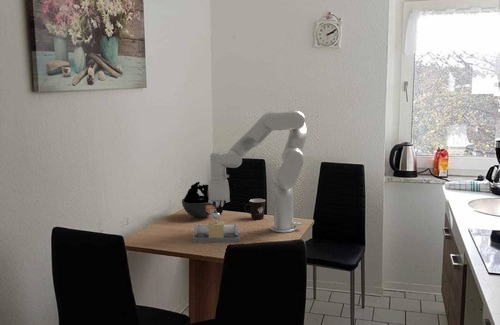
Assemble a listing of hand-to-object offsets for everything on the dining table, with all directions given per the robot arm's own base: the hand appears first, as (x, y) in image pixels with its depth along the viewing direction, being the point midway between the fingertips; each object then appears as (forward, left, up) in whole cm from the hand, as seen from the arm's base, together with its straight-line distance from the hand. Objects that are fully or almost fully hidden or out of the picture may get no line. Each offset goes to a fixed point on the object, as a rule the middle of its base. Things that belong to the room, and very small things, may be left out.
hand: (219, 214), depth 264 cm
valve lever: (+3, +4, +1) cm, 5 cm away
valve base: (0, +11, -9) cm, 15 cm away
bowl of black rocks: (+13, -30, -10) cm, 34 cm away
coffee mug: (-17, -27, -10) cm, 33 cm away
